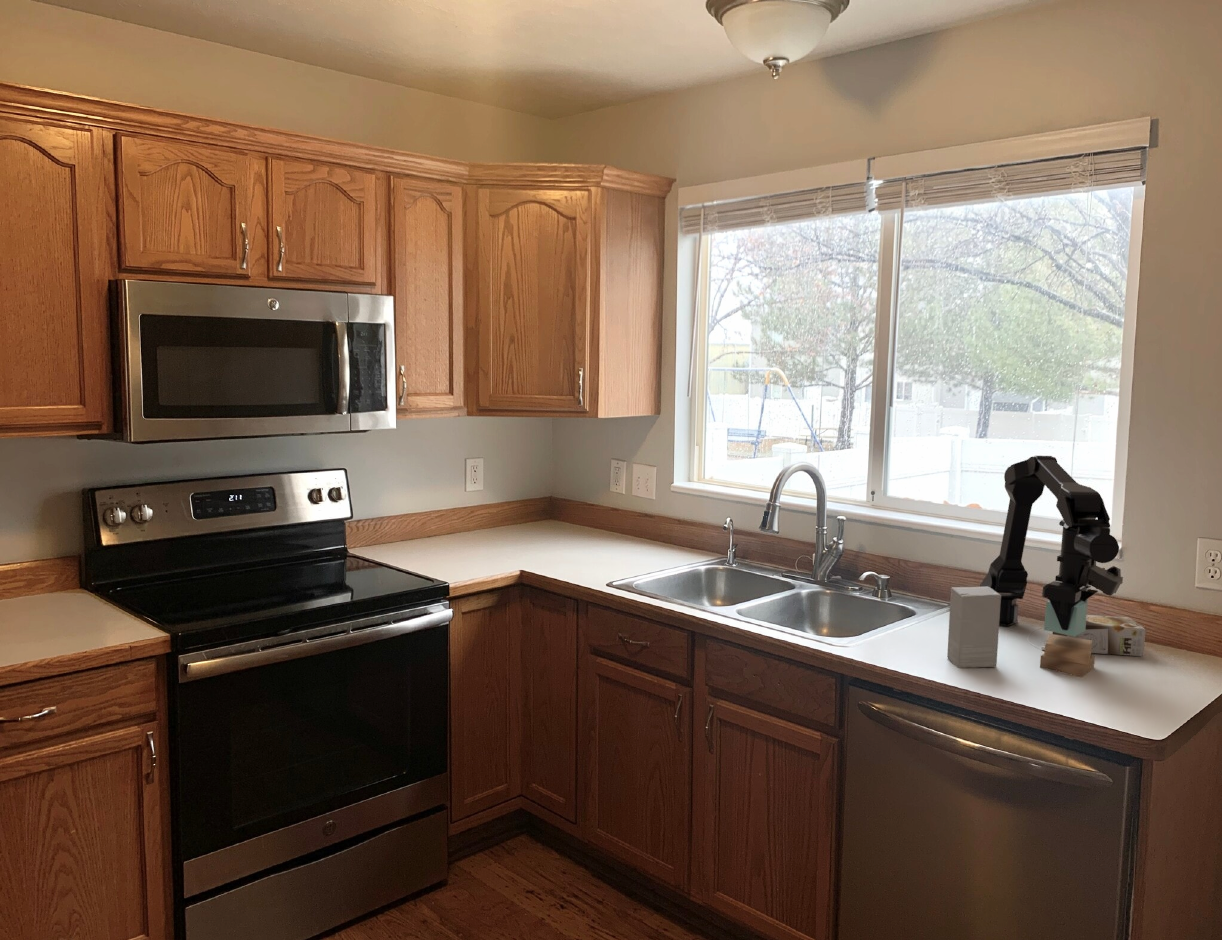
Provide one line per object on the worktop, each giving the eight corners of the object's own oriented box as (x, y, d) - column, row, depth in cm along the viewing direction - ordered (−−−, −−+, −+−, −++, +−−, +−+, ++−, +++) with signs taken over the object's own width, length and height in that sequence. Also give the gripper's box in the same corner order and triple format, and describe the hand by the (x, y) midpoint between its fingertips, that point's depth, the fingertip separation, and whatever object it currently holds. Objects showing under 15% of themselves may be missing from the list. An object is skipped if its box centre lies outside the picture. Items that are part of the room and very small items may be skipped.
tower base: (1039, 669, 194) (1040, 655, 193) (1053, 660, 199) (1054, 647, 199) (1081, 679, 188) (1082, 665, 188) (1093, 670, 194) (1094, 656, 194)
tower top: (1044, 657, 192) (1045, 643, 191) (1048, 647, 199) (1049, 633, 198) (1088, 664, 188) (1089, 650, 187) (1090, 654, 195) (1092, 640, 194)
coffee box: (1146, 628, 201) (1067, 623, 203) (1143, 657, 202) (1065, 652, 204) (1128, 616, 210) (1053, 612, 212) (1126, 644, 211) (1051, 640, 213)
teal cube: (1044, 629, 193) (1046, 601, 192) (1054, 624, 197) (1057, 596, 197) (1074, 636, 189) (1077, 607, 188) (1085, 630, 193) (1087, 602, 193)
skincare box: (983, 658, 199) (989, 585, 197) (998, 669, 192) (1004, 593, 190) (944, 658, 198) (949, 584, 196) (957, 669, 191) (962, 593, 189)
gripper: (1105, 565, 178) (1098, 645, 180) (1133, 551, 192) (1126, 626, 194) (1044, 556, 186) (1038, 632, 188) (1075, 543, 199) (1069, 615, 201)
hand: (1070, 626), depth 192 cm, fingers closed on teal cube, 6 cm apart
